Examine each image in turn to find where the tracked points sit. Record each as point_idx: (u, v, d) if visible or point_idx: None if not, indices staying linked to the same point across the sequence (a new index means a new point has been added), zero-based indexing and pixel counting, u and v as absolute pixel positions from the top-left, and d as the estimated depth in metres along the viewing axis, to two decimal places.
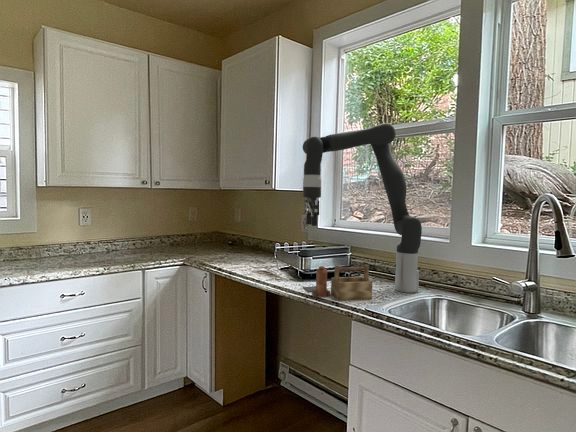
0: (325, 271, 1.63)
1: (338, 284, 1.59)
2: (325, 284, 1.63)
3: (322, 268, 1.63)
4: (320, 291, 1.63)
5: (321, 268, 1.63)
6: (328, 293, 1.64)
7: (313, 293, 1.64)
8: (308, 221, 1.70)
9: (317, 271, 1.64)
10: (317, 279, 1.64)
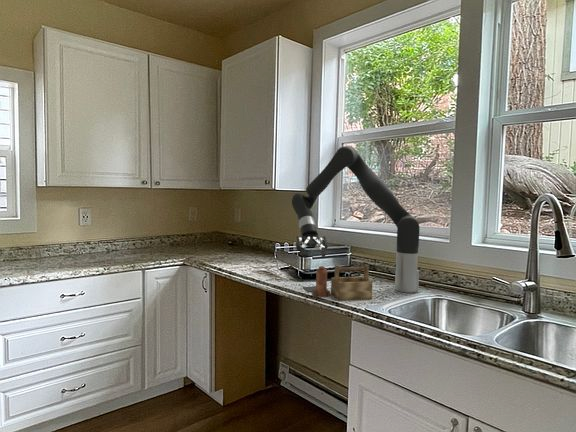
0: (325, 271, 1.63)
1: (338, 284, 1.59)
2: (325, 284, 1.63)
3: (322, 268, 1.63)
4: (320, 291, 1.63)
5: (321, 268, 1.63)
6: (328, 293, 1.64)
7: (313, 293, 1.64)
8: (322, 254, 1.76)
9: (317, 271, 1.64)
10: (317, 279, 1.64)
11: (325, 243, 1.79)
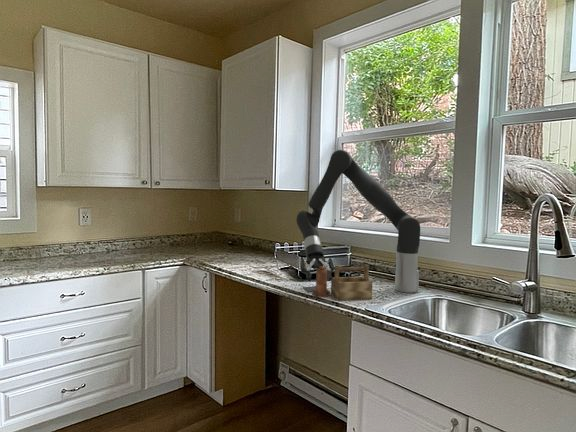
0: (325, 271, 1.63)
1: (338, 284, 1.59)
2: (325, 284, 1.63)
3: (322, 268, 1.63)
4: (320, 291, 1.63)
5: (321, 268, 1.63)
6: (328, 293, 1.64)
7: (313, 293, 1.64)
8: (328, 277, 1.67)
9: (317, 271, 1.64)
10: (317, 279, 1.64)
11: (331, 265, 1.69)
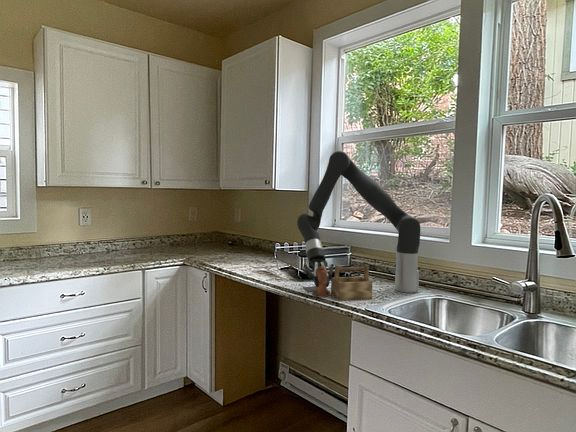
0: (325, 271, 1.63)
1: (338, 284, 1.59)
2: (325, 284, 1.63)
3: (322, 268, 1.63)
4: (320, 291, 1.63)
5: (321, 268, 1.63)
6: (328, 293, 1.64)
7: (313, 293, 1.64)
8: None
9: (317, 271, 1.64)
10: None
11: (330, 271, 1.67)
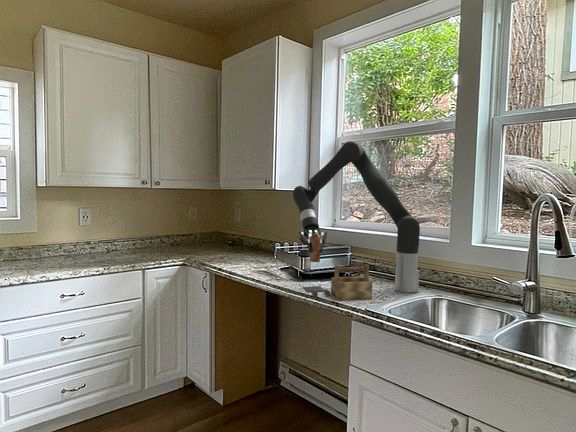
0: (318, 238, 1.71)
1: (338, 284, 1.59)
2: (318, 250, 1.72)
3: (316, 235, 1.72)
4: (314, 256, 1.71)
5: (315, 235, 1.72)
6: (328, 293, 1.64)
7: (313, 293, 1.64)
8: None
9: (311, 238, 1.73)
10: None
11: (324, 238, 1.76)
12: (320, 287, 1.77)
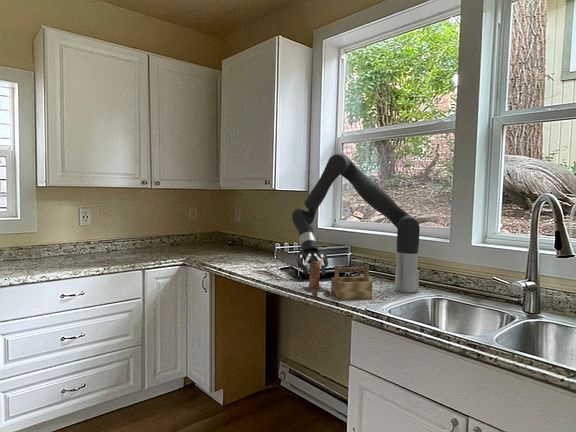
0: (318, 265, 1.73)
1: (338, 284, 1.59)
2: (318, 278, 1.73)
3: (315, 263, 1.73)
4: (313, 284, 1.73)
5: (314, 263, 1.73)
6: (328, 293, 1.64)
7: (313, 293, 1.64)
8: (322, 272, 1.75)
9: (310, 265, 1.74)
10: (310, 273, 1.74)
11: (325, 260, 1.77)
12: (320, 287, 1.77)
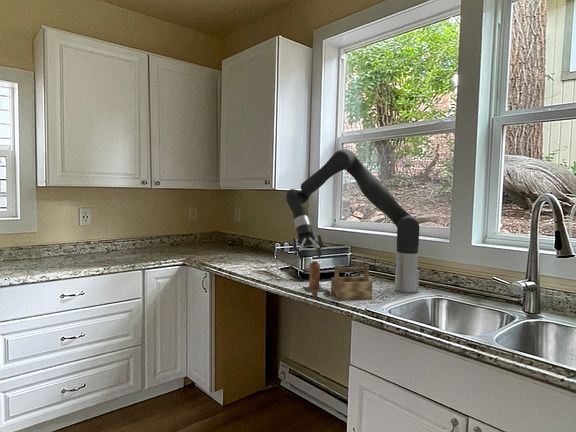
0: (318, 265, 1.73)
1: (338, 284, 1.59)
2: (318, 278, 1.73)
3: (315, 263, 1.73)
4: (313, 284, 1.73)
5: (314, 263, 1.73)
6: (328, 293, 1.64)
7: (313, 293, 1.64)
8: (318, 254, 1.88)
9: (310, 265, 1.74)
10: (310, 273, 1.74)
11: (320, 243, 1.90)
12: (320, 287, 1.77)
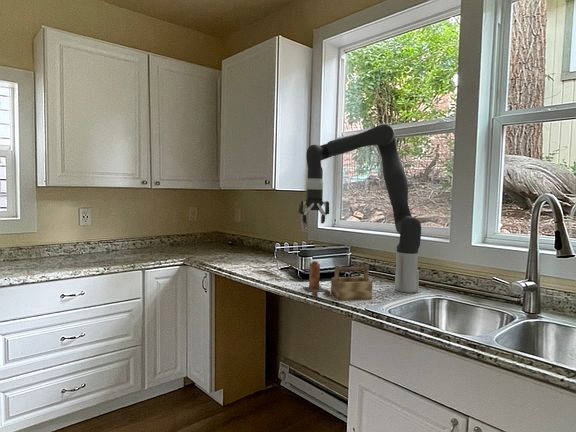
0: (318, 265, 1.73)
1: (338, 284, 1.59)
2: (318, 278, 1.73)
3: (315, 263, 1.73)
4: (313, 284, 1.73)
5: (314, 263, 1.73)
6: (328, 293, 1.64)
7: (313, 293, 1.64)
8: (321, 220, 1.87)
9: (310, 265, 1.74)
10: (310, 273, 1.74)
11: (327, 210, 1.86)
12: (320, 287, 1.77)
